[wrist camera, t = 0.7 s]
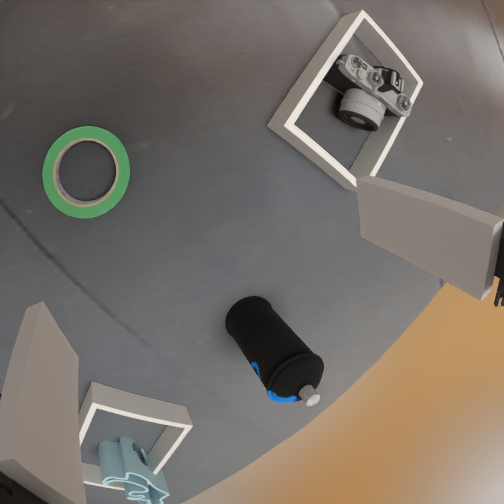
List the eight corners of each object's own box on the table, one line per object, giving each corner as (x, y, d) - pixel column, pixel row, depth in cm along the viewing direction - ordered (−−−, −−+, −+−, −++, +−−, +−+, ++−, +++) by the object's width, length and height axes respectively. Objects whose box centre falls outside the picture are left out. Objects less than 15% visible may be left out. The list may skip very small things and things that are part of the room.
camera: (298, 97, 43) (341, 92, 34) (318, 48, 41) (362, 36, 32) (370, 141, 50) (414, 147, 41) (385, 97, 48) (429, 97, 39)
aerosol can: (245, 287, 50) (314, 366, 33) (281, 308, 54) (353, 381, 37) (215, 328, 50) (268, 419, 33) (252, 345, 54) (312, 427, 37)
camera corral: (266, 126, 42) (283, 125, 38) (342, 16, 40) (362, 9, 35) (344, 188, 51) (364, 194, 46) (402, 83, 48) (423, 82, 44)
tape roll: (41, 137, 31) (35, 137, 29) (124, 118, 35) (124, 117, 33) (55, 222, 36) (52, 227, 34) (135, 204, 39) (136, 208, 37)
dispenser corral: (61, 459, 47) (62, 477, 43) (92, 381, 45) (92, 402, 40) (138, 475, 56) (142, 492, 52) (185, 406, 54) (192, 425, 49)
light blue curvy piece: (170, 467, 60) (181, 499, 52) (136, 480, 57) (144, 512, 49) (124, 430, 51) (131, 468, 43) (86, 445, 49) (90, 482, 41)
